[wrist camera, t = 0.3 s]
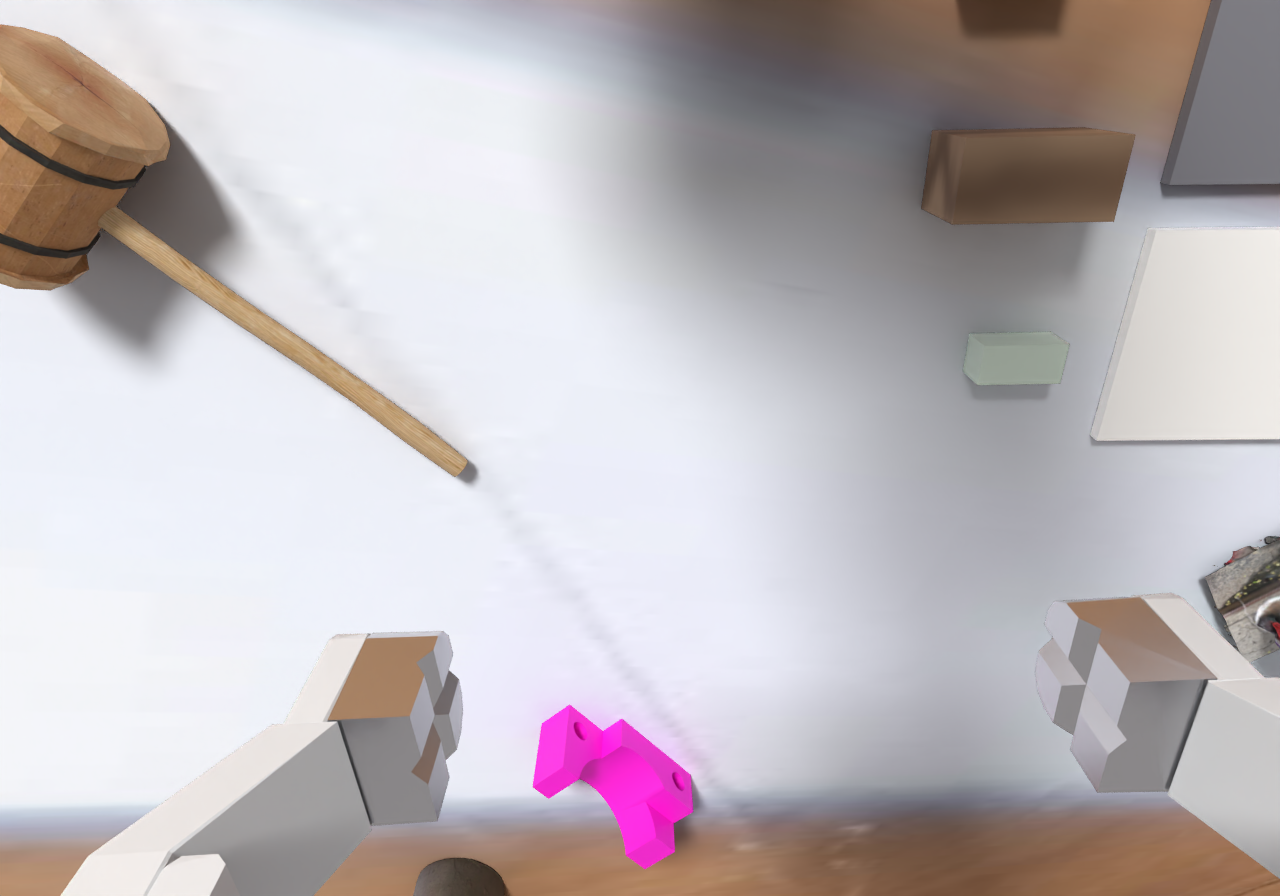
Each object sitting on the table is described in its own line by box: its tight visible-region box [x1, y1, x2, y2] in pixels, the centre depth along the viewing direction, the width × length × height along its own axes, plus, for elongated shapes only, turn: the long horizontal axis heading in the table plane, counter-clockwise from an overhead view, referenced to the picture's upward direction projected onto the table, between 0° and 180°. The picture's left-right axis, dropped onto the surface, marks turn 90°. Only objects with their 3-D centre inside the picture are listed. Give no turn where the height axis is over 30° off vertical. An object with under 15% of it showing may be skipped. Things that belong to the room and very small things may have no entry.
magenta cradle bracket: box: [533, 705, 693, 869], centre depth 73 cm, size 15×6×8 cm, turn 42°
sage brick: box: [963, 332, 1070, 385], centre depth 56 cm, size 6×3×3 cm, turn 91°
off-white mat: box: [1090, 227, 1280, 441], centre depth 57 cm, size 16×16×1 cm
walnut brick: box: [921, 127, 1135, 225], centre depth 49 cm, size 5×10×6 cm, turn 91°
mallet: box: [0, 25, 468, 477], centre depth 53 cm, size 12×38×10 cm, turn 44°
